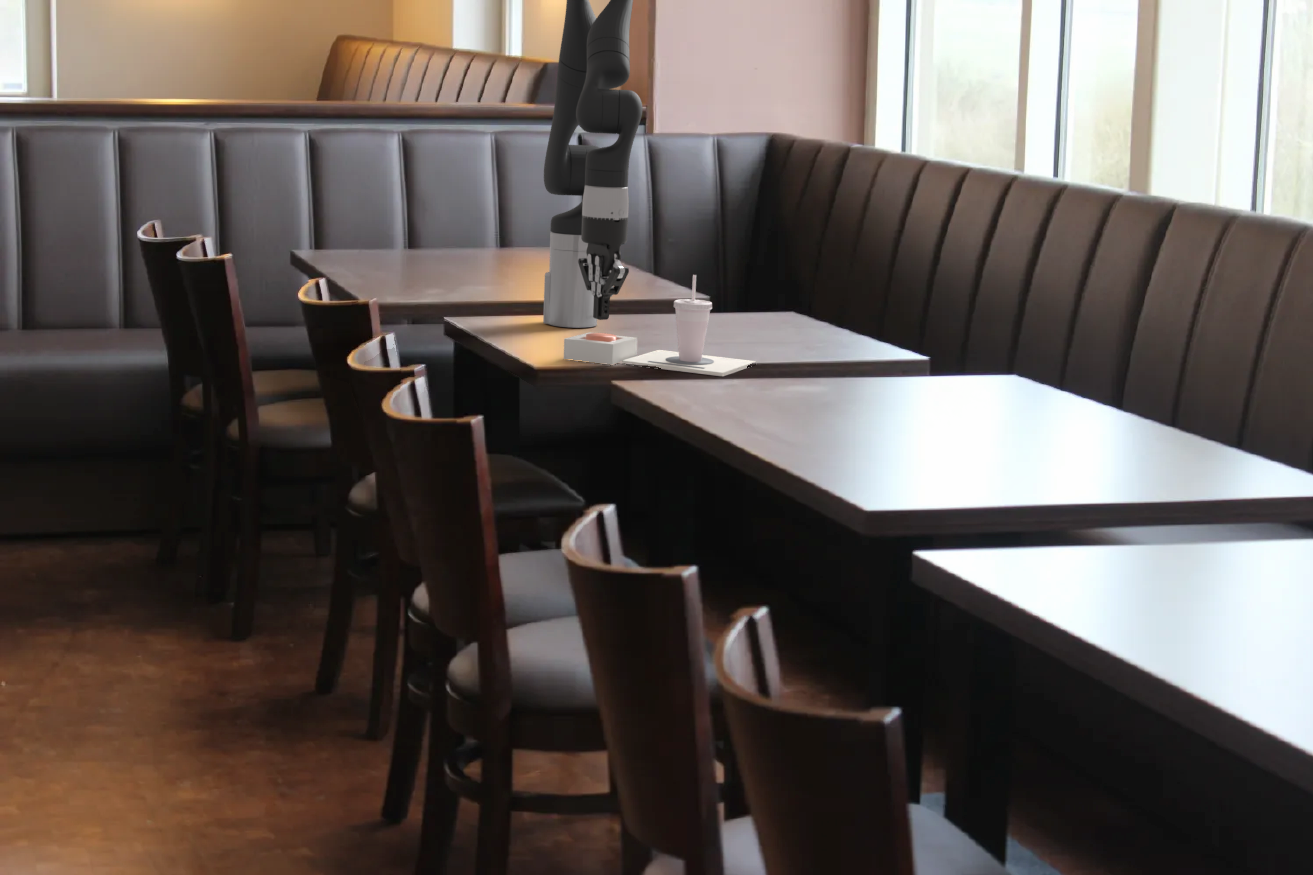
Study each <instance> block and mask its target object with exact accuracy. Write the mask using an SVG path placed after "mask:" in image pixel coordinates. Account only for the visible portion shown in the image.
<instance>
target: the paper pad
mask: <svg viewBox="0 0 1313 875" xmlns="http://www.w3.org/2000/svg"><path fill="white" fill-rule="evenodd" d="M622 362H624V363H632V364H640V365H648V366H656V367H659V368H661V369H660V370H666V371H667V370H668V371H675V372H683V373H693V374H699V375H708V376H716V377H725V376H729V375H731V374H735V373H737V372H740V371H742V370H745V369H748V368H747V366H748V365H750V364H752V363H755V362H756V363H757V360H748V359H742V358H741V359H740V358H732V357H724V356H715V355H707V354H705V355H704V354H702V360H701V361H699V362H687V361H681V360H679V351H671V350H665V349H664V350H662V349H657V350H653V351H649V352H645V353H643V354H640V355H637V356H636V357H632V358H629V359H625V360H622Z"/></svg>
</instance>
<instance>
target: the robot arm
mask: <svg viewBox="0 0 1313 875" xmlns="http://www.w3.org/2000/svg"><path fill="white" fill-rule="evenodd" d="M633 2H634V0H609V2H608V3H607V4H606V5H605V7H604V8H603V9H602V11H601V12H600V13H599V15H598V16H596V14H595V12H594V10H593V7H592V5H591V2H590V0H566V5H565V6H566V7H565V14H564V15H565V16H564V22H563V29H562V30H563V31H562V37H561V44H560V50H559V57H558V63H557V65H558V66H557V72H556V73H557V74H556V85H555V86H556V87H555V96H554V108H553V114H552V120H551V127H550V131H549V137H548V142H547V148H546V152H545V159H544V163H543V164H544V166H543V182H544V184H543V185H544V187H545V189H546V191H547V192H548V193H549V194H551V195H555V196H573V197H576V196H580V197H581V196H582V200H581V202H580V203H579V204H578V205H576V206H575V207H573V208H571V209H570V210H566V211H564V212H561V213H558V214H555V215H553V216H552V217H551V220H550V235H549V236H550V237H549V238H550V239H549V269H548V270H549V271H547V272H545V274H544V282H543V283H544V287H543V288H544V289H543V290H544V291H543V321H542V322H543V324H545V325H546V324H547V325H550V326H554V327H561V328H577V329H578V328H593V327H596V326H598V320H599V321H605V320H606V321H607V320H609V317H610V307H611V306H610V304H611V302H610V300H611V297H613V296H614V295H615V296H616V295H619V292H620V290H621V289H622V288H623V287H622V286H623V285H624V283H625V280H626V279H627V277H628V276H629V275H628V274H629V273H630V268H629V267H628V266H623V264H622V262H621V261H622V254H621V252H622V251H621V246H622V245H625V244H626V243H627V242H628V229H629V226H628V225H629V203H630V202H629V200H630V199H629V168H630V167H629V166H630V159H631V153H632V148H633V145H634V142H635V138H636V135H637V131H638V128H639V126H640V123H641V119H642V117H643V116H642V115H643V103H642V102H643V101H642V99H641V98H640V96H639V95H638V93H636V91H633V90H629V89H616V88H619V87H621V86H624V85H625V84H626V83H627V81H628V80H629V78H630V74H631V72H630V71H631V67H630V65H631V64H630V62H631V61H630V56H631V55H630V29H631V28H630V27H631V19H632V12H633ZM578 126H579V127H580V128H581V130H583V131H584V132H586V133H589V134H611V135H612V134H614V135H616V134H617V135H618V137H617V139H616V141H615V142H614V143H612V144H611V145H609V146H604V147H599V146H596V145H589V144H588V145H587V144H586V145H585V144H570V142H571V139H572V137H573V134H574V133H575V131H576V130H577V127H578Z"/></svg>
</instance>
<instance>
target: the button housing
mask: <svg viewBox="0 0 1313 875" xmlns="http://www.w3.org/2000/svg"><path fill="white" fill-rule="evenodd" d="M590 333H592V332H585V333H581V334H577V335H573V336H570V337H566V338H565V337H564V338H563V360H564V359H573V360H582V361H589V362H595V363H607V364H614V363H618V362H620V361H622V360H625V359H629V358H632V357H636V356H638V337H633V336H626V335H625V336H624V335H616V334H615V335H616V340H614V341H611V342H604V341H595V340H587V339H586V334H590Z"/></svg>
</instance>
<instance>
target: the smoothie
mask: <svg viewBox="0 0 1313 875" xmlns="http://www.w3.org/2000/svg"><path fill="white" fill-rule="evenodd" d="M691 286H692V287H691V288H692V289H691V290H692V291H691V299H690V298H689V299H688V298H684V299H681V298H680V299H676V300H674V301H673V308H675V309H674V310H675V320H676V333H677V335H676V336H677V347H678V349H677V350H678V351H677V352H679V360H681V361H687V362H699V361H701V360H702V355H704V354H703V353H704V347H705V342H706V336H707V331H708V330H707V329H708V324H709V319H710V314H711V313H710V312H711V310H712V309H713V302H712V301H710V300H704V299H696V292H697V291H696V289H697V274H692V284H691Z"/></svg>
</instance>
